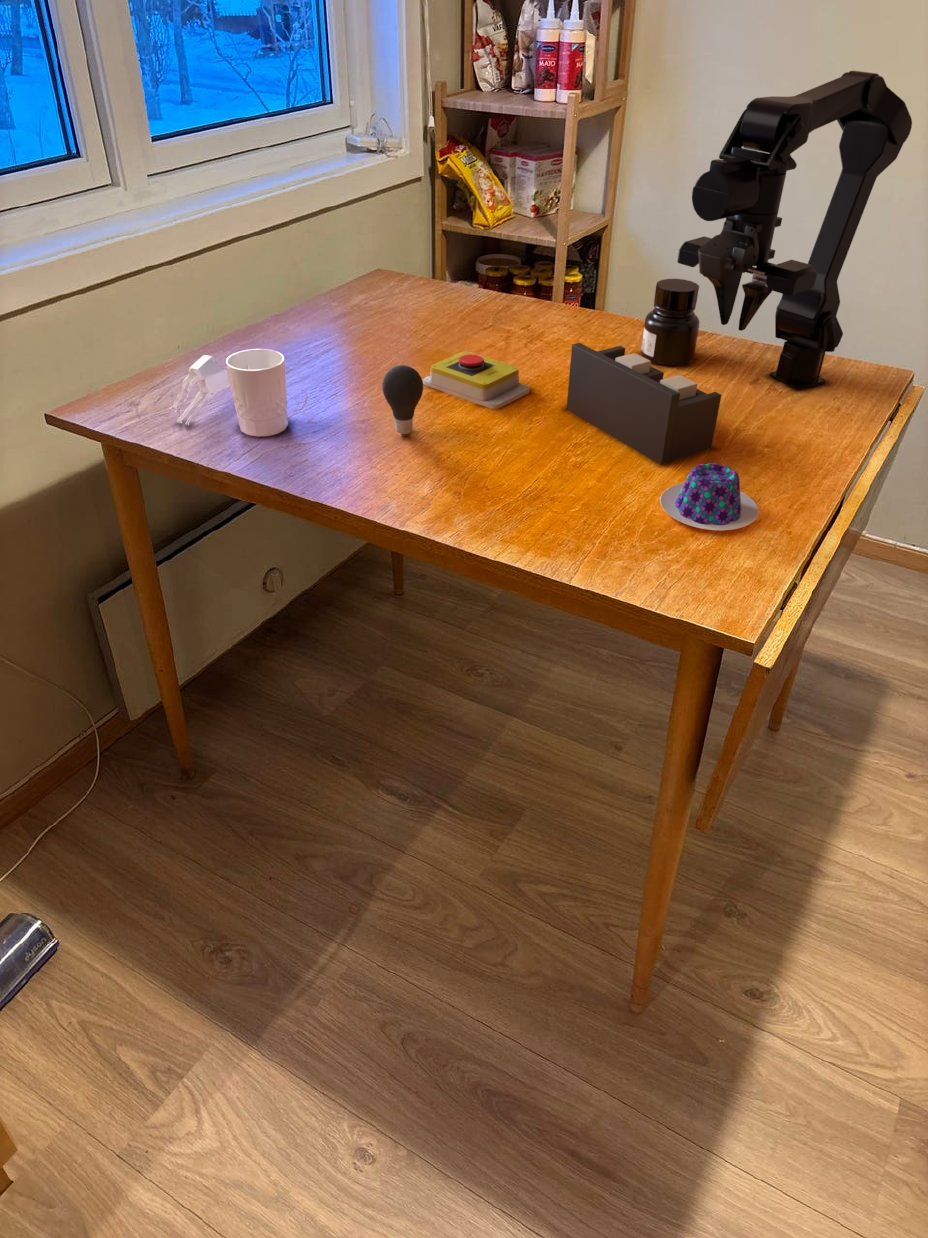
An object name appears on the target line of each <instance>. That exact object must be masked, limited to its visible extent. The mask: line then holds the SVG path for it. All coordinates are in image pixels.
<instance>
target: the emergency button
mask: <svg viewBox="0 0 928 1238" xmlns="http://www.w3.org/2000/svg"><path fill="white" fill-rule="evenodd" d="M519 375H520V372H519V367H517V366H514V365H511V364H508V363H505V362H502V361H499V360H496V359H492V358H490V357H486V356H483V355H480V354H477V353H474V352H471V351H467V350H466V351H461V352H459V353H456V354H453V355H452V356H450V357H449V356H448V357H447V358H445V359H442V360H440V361H438V362H436V363H433V364H431V366H430V375H427V376H425V377H424V378H423V379H422V381H423V386H426V387H428V388H432V389H434V390H436V391H440V392H443V393H445V394H448V395H451V396H454V397H457V398H460V399H462V400H465V401H468V402H470V403H473V404H476V405H479V406H482V407H485V408H488V409H490V410H498V409H500V408H503V407H505V406H506V405H508V404H511V403H513V402H515V401H517V400H518V399H520V398H522V397H524V396H526V395H528V394H530V391H531V387H530V386H529V385H526V384H524V383H520V379H519V377H520V376H519Z"/></svg>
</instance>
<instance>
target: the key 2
mask: <svg viewBox="0 0 928 1238" xmlns="http://www.w3.org/2000/svg"><path fill="white" fill-rule="evenodd" d="M660 383H661V384H663V385H665V386H667V387H669V388H671V389H673V390H675V391H677V392H679V393H680V396H679V400H681V399H685V398H688V397H692V396H695V395H696V390H697V389H698V383H697V382H695V381H693V380H691V379H689V378H686V377H685V376H683V375H680V374H677V375H674V376H669V377H665V378H663V379H662V380H660Z"/></svg>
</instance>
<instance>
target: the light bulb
mask: <svg viewBox="0 0 928 1238" xmlns="http://www.w3.org/2000/svg"><path fill="white" fill-rule="evenodd" d="M381 384H382V393H383V397H384V398H385V400H386V402H387V404H388V405H389V407H390V408H391V411H392V415H393V418H394V428H395V431H396V432H397V433H398V434H400V435H401V436H403V437H405V436H407V435H408V434H410V432H411V433H412V431H413V427H414V424H413V423H414V422H413V421H414V419H413V418H414V415H415V410H416V408H417V406H418V404H419V402H420V401H421V399H422V396H423V392H424V384H423V379H422V376H421V374H420V373H419V372H418V371H417V370H416V369H415V368H413V367H412V366H410V365H405V364H399V365H396V366H393V367H392V368H390V369H389V370H388V371H387V372H386V373H385V374H384V377H383V380H382V383H381Z"/></svg>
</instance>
